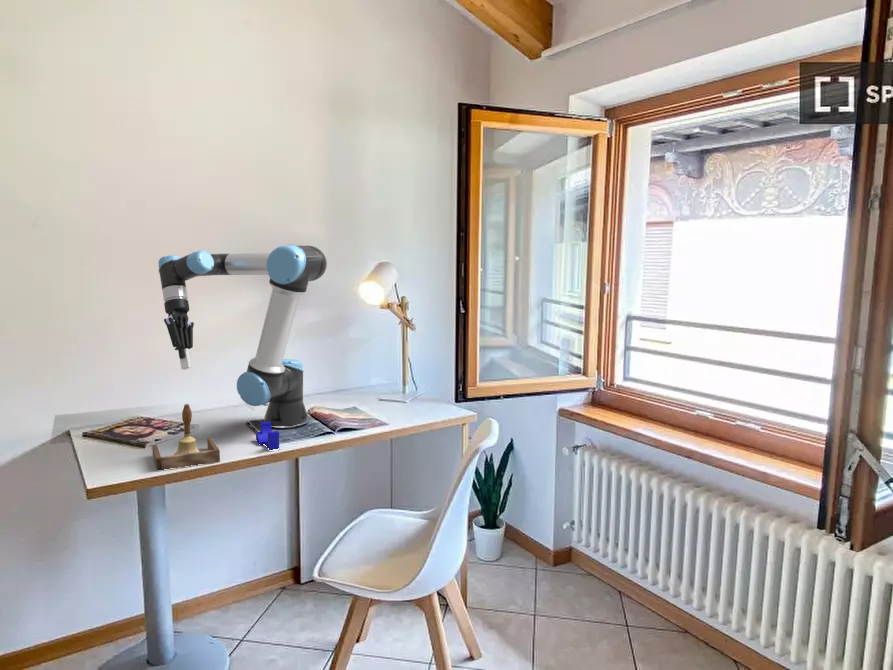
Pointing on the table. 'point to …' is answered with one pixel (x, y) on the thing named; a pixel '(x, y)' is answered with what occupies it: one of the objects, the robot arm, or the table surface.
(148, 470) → the table surface
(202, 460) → the walnut corral
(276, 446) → the cable clip
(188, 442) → the hand bell
